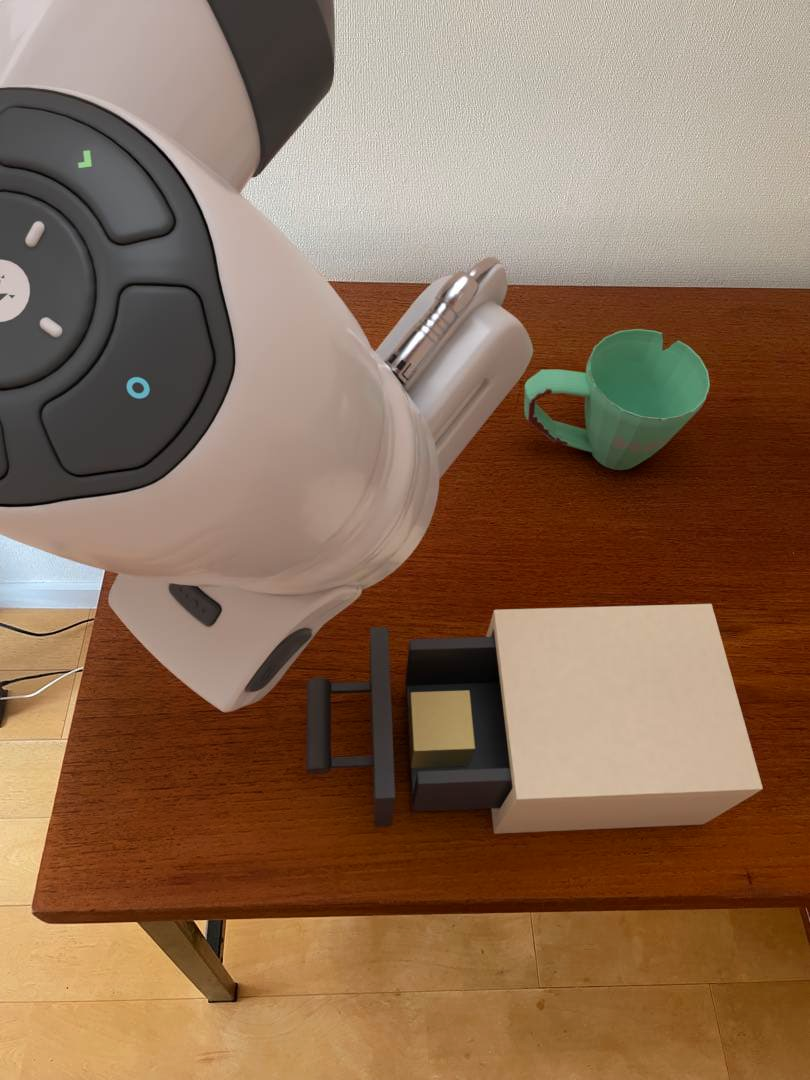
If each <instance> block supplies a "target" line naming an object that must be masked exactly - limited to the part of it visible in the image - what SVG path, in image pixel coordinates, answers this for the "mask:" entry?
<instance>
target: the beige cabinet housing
mask: <svg viewBox="0 0 810 1080" xmlns="http://www.w3.org/2000/svg"><path fill="white" fill-rule="evenodd" d="M485 637H495V643H496V652H497V660H498V669H499V677H500V686H501V694H502V702H503V711H504V719H505V728H506V736H507V745H508V753H509V762H510V770H511V779H512V787H513V788H512V790H511V791H510V793H509V795H508V796H507V798H506V800H505V801H504V803H503V804H502V806H501V808H490V810H491V818H492V819H491V820H492V829H493V834H495V835H497V834H517V833H518V834H519V833H540V832H541V833H542V832H563V831H583V830H585V831H586V830H607V829H608V830H609V829H630V828H631V829H632V828H633V829H634V828H652V827H677V826H678V827H679V826H696V825H697V826H698V825H705V824H706V823H708V822H710V821H712V820H714V819H716V818H717V817H719V816H720V815H722V814H723V813H725V812H727V811H729V810H731V809H732V808H733V807H735V806H737V805H739V804H740V803H742V802H744V801H746V800H747V799H748V798H750V797H752V796H754V795H755V794H757V793H759V792H760V791H762V790H763V789H764V788H763V784H762V781H761V777H760V773H759V771H758V766H757V762H756V759H755V756H754V751H753V748H752V745H751V741H750V737H749V733H748V730H747V727H746V723H745V719H744V716H743V715H744V714H743V712H742V708H741V705H740V702H739V698H738V694H737V691H736V687H735V684H734V679H733V676H732V672H731V669H730V665H729V662H728V658H727V654H726V650H725V647H724V643H723V640H722V636H721V633H720V629H719V625H718V622H717V618H716V614H715V612H714V608H713V604H712V603H696V604H695V603H694V604H693V603H691V604H686V603H685V604H653V605H651V604H650V605H614V606H581V607H579V606H577V607H544V608H543V607H542V608H541V607H540V608H509V609H508V608H507V609H506V608H505V609H504V608H503V609H494V610H493V612H492V616H491V619H490V622H489V625H488V629H487V632H486V635H485Z"/></svg>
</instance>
